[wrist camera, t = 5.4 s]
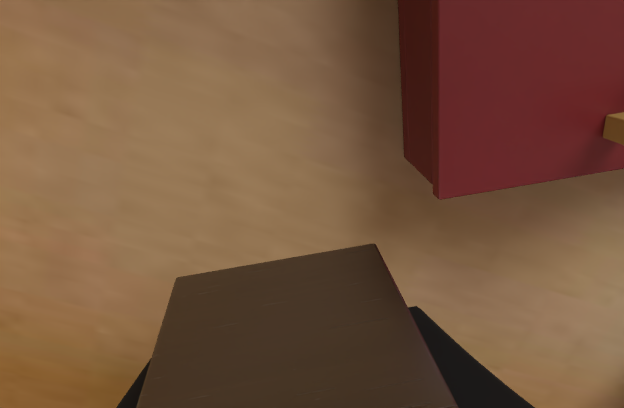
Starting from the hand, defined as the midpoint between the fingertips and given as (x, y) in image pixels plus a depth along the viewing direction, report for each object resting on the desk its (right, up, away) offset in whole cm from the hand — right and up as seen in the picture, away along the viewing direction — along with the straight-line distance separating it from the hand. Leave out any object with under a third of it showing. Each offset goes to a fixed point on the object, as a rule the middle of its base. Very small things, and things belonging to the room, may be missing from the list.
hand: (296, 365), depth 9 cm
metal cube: (0, 0, +1) cm, 1 cm away
